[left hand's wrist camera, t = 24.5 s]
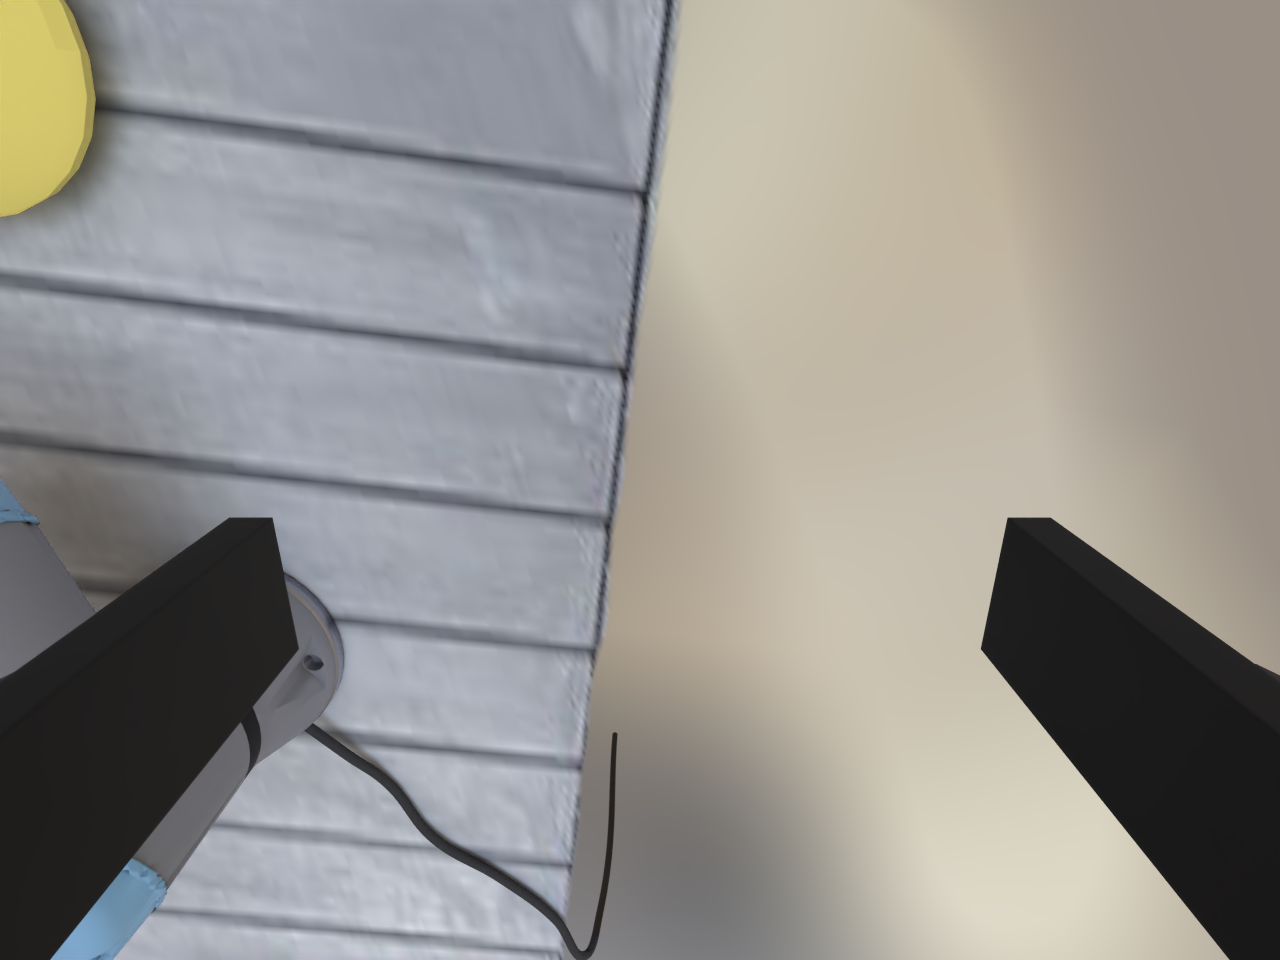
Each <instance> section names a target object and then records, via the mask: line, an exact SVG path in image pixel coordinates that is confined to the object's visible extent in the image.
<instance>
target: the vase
mask: <svg viewBox="0 0 1280 960" xmlns="http://www.w3.org/2000/svg"><path fill="white" fill-rule="evenodd" d="M95 101H96V98H95V91H94V84H93V78H92V71H91V64H90V58H89V55H88V52H87V50H86V47H85V44H84V42H83V39H82V36H81V34H80V31H79V29H78V26H77V23H76V21H75V18H74V15H73V13H72V12H71V10H70V9H69V7H68V5H67V4H66V2H65V1H64V0H0V217H3V216H9V215H14V214H19V213H21V212H23V211H25V210H27V209H29V208H31V207H33V206H35V205H36V204H38V203H40V202H42V201H44V200H45V199H47V198H49V197H51V196H53V195H55V194H56V193H58V192H59V191H60V190H61V189H62V188H63V186H64V185H65V184H66V183H67V182H68V181H69V180H70V178H71V177H72V176H73V175H74V174H75V173H76V172H77V170H78V169H79V168H80V165H81V163H82V160H83V158H84V155H85V153H86V151H87V148H88V146H89V143H90V141H91V138H92V132H93V122H94V112H95Z"/></svg>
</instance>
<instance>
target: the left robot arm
mask: <svg viewBox="0 0 1280 960" xmlns="http://www.w3.org/2000/svg"><path fill="white" fill-rule="evenodd" d="M39 523H40V522H39V521H38V519H37V518H36V517H35V516H34V515H32V514H31V513H27V512H25V510H24V509H23V508H22V506H21V505H20V504H19V502H18V501H17V500H16V499H15V497H14V496H13V495H12V493H11V492H10V491H9V489H8V488H7V487H6V486H5V484H4V483H3V482H2V480H1V479H0V960H113V959H114V957H115V956H116V955H117V954H118V953H119V952H120V950H121V949H122V948H123V947H124V945H125V944H126V943H127V942H128V941H129V939H130V938H131V937H132V936H133V934H134V933H135V932H136V931H137V930H138V928H139V927H140V926H141V925H142V923H143V922H144V921H145V920H146V919H147V917H148V916H149V915H150V914H151V913H153V912H154V911H155V910H156V909H157V908H158V907H159V906H160V905H161V903H162V902H163V900H164V897H165V895H166V894H167V892H166V891H167V889H168V888H169V886H170V885H171V884H172V882H173V881H174V879H175V878H176V876H177V875H178V874H179V872H180V871H181V869H182V868H183V866H184V865H185V864H186V862H187V861H188V859H189V858H190V856H191V855H192V854H193V852H194V851H195V849H196V848H197V847H198V845H199V844H200V842H201V841H202V839H203V838H204V837H205V835H206V834H207V832H208V831H209V829H210V828H211V827H212V825H213V824H214V822H215V821H216V819H217V818H218V817H219V815H220V814H221V812H222V811H223V810H224V808H225V807H226V805H227V804H228V802H229V801H230V800H231V798H232V797H233V795H234V794H235V792H236V791H237V790H238V788H239V787H240V785H241V784H242V782H243V781H244V779H245V778H246V777H247V775H248V774H249V772H250V771H251V770H252V768H253V767H254V766H255V765H256V764H258V763H259V762H260V761H262V760H263V759H265V758H266V757H267V756H269V755H270V754H272V753H273V752H275V751H276V750H277V749H279V748H280V747H282V746H283V745H285V744H286V743H287V742H289V741H290V740H292V739H293V738H294V737H296V736H297V735H299V734H300V733H301V732H303V731H306V732H307V733H308V734H310V735H311V736H313V737H314V738H315V739H317V740H318V741H320V742H321V743H322V744H324V745H325V746H326V747H328V748H329V749H331V750H332V751H333V752H335V753H336V754H338V755H339V756H340V757H342V758H343V759H345V760H346V761H348V762H349V763H351V764H352V765H354V766H355V767H357V768H359V769H360V770H362V771H363V772H365V773H367V774H368V775H370V776H371V777H373V778H374V779H375V780H377V781H378V782H379V783H380V784H382V785H383V786H384V787H385V788H386V789H387V790H388V791H389V792H390V793H391V794H392V795H393V796H394V798H395V799H396V800H397V801H398V803H399V804H400V805H401V807H402V808H403V809H404V811H405V812H406V814H407V815H408V817H409V818H410V820H411V821H412V822H413V824H414V825H415V826H416V828H417V829H418V830H419V831H420V832H421V833H422V834H423V835H424V836H425V837H426V838H427V839H428V840H429V841H430V842H431V843H432V844H434V845H435V846H436V847H437V848H439V849H440V850H442V851H443V852H445V853H446V854H448V855H449V856H451V857H453V858H455V859H456V860H458V861H460V862H462V863H464V864H466V865H468V866H470V867H472V868H474V869H476V870H478V871H480V872H482V873H484V874H486V875H487V876H489V877H491V878H492V879H494V880H496V881H497V882H499V883H500V884H502V885H503V886H505V887H506V888H508V889H509V890H511V891H512V892H514V893H515V894H517V895H518V896H520V897H521V898H523V899H524V900H526V901H527V902H528V903H530V904H531V905H532V906H534V907H535V908H536V909H538V910H539V911H540V912H541V913H542V914H543V915H545V916H546V917H547V918H548V919H549V920H550V921H551V922H552V923H553V924H554V925H555V926H556V927H557V929H558V930H559V932H560V934H561V935H562V937H563V939H564V941H565V943H566V945H567V947H568V949H569V951H570V953H571V954H572V955H573V957H574V958H575V959H576V960H587V959H589V958H590V957H591V956H592V954H593V953H594V951H595V949H596V946H597V943H598V938H599V934H600V928H601V923H602V918H603V912H604V907H605V902H606V897H607V891H608V884H609V878H610V870H611V862H612V851H613V839H614V820H615V783H616V752H617V736H618V734H617V733H616V732H614V733H613V734H612V745H611V763H610V791H609V818H608V834H607V847H606V857H605V866H604V873H603V880H602V886H601V892H600V897H599V902H598V906H597V911H596V916H595V921H594V927H593V931H592V936H591V939H590V943H589V945H588V947H587V949H586V950H585V951H580V950H579V949H578V948H577V946H576V944H575V942H574V940H573V938H572V936H571V934H570V932H569V930H568V928H567V927H566V925H565V924H564V922H563V921H562V919H561V918H560V917H559V916H558V915H557V914H556V913H555V912H554V911H553V910H552V909H551V908H550V907H549V906H547V905H546V904H545V903H544V902H543V901H541V900H540V899H539V898H538V897H536V896H535V895H534V894H532V893H531V892H530V891H528V890H527V889H525V888H524V887H522V886H521V885H519V884H518V883H516V882H515V881H513V880H512V879H510V878H509V877H507V876H506V875H504V874H503V873H501V872H500V871H498V870H497V869H495V868H493V867H492V866H490V865H488V864H486V863H484V862H482V861H480V860H478V859H476V858H474V857H472V856H470V855H469V854H467V853H465V852H463V851H461V850H459V849H457V848H456V847H454V846H452V845H451V844H449V843H448V842H446V841H445V840H443V839H442V838H441V837H440V836H438V835H437V834H436V833H435V832H434V831H433V830H432V829H431V828H430V827H429V826H428V825H427V824H426V823H425V822H424V821H423V819H422V818H421V817H420V815H419V814H418V813H417V811H416V810H415V808H414V807H413V805H412V804H411V802H410V801H409V800H408V798H407V797H406V795H405V794H404V793H403V792H402V790H401V789H400V788H399V787H398V786H397V785H396V784H395V783H394V782H393V781H392V780H391V779H390V778H389V777H388V776H387V775H386V774H385V773H383V772H382V771H381V770H379V769H378V768H377V767H375V766H374V765H372V764H371V763H369V762H367V761H366V760H364V759H363V758H361V757H359V756H358V755H356V754H355V753H353V752H352V751H351V750H349V749H348V748H346V747H345V746H344V745H342V744H341V743H339V742H338V741H337V740H335V739H334V738H332V737H331V736H330V735H328V734H327V733H326V732H324V731H323V730H322V729H320V728H319V727H317V726H316V725H315V724H313V722H314V721H315V720H316V719H317V718H318V717H319V716H320V715H321V714H322V712H323V711H324V710H325V708H326V707H327V705H328V704H329V702H330V701H331V699H332V698H333V696H334V694H335V693H336V691H337V689H338V687H339V684H340V681H341V678H342V674H343V667H344V656H343V648H342V643H341V639H340V636H339V633H338V631H337V629H336V626H335V624H334V622H333V621H332V619H331V617H330V616H329V614H328V613H327V611H326V610H325V608H324V607H323V606H322V605H321V603H320V602H319V601H318V600H317V599H316V598H315V597H314V596H313V595H312V594H311V593H310V592H309V591H308V590H307V589H305V588H304V587H303V586H302V585H300V584H299V583H298V582H296V581H295V580H293V579H292V578H290V577H288V576H287V575H285V574H284V572H283V568H282V563H281V558H280V553H279V548H278V543H277V538H276V533H275V528H274V523H273V519H272V518H228V519H227V520H225V521H224V522H223V523H221V524H220V525H218V526H217V527H216V528H214V529H213V530H212V531H210V532H209V533H207V534H206V535H205V536H203V537H202V538H200V539H199V540H198V541H196V542H195V543H193V544H192V545H191V546H189V547H188V548H186V549H185V550H184V551H182V552H181V553H179V554H178V555H177V556H175V557H174V558H172V559H171V560H170V561H168V562H167V563H165V564H164V565H163V566H161V567H160V568H159V569H157V570H156V571H154V572H153V573H152V574H150V575H149V576H147V577H146V578H145V579H143V580H142V581H140V582H139V583H138V584H136V585H135V586H133V587H132V588H131V589H129V590H128V591H126V592H125V593H124V594H122V595H121V596H119V597H118V598H117V599H115V600H114V601H112V602H111V603H110V604H108V605H107V606H106V607H104V608H103V609H101V610H100V611H99V612H97V613H96V612H95V611H94V609H93V608H92V606H91V605H90V603H89V602H88V600H87V599H86V597H85V596H84V594H83V593H82V591H81V590H80V589H79V587H78V586H77V584H76V583H75V581H74V580H73V578H72V577H71V575H70V574H69V572H68V571H67V569H66V568H65V566H64V565H63V563H62V562H61V560H60V559H59V557H58V556H57V554H56V553H55V551H54V550H53V548H52V547H51V545H50V544H49V543H48V541H47V540H46V538H45V537H44V535H43V534H42V532H41V531H40V529H39V528H38V526H37V525H38V524H39ZM981 650H982V651H983V652H984V654H985V655H986V656H987V657H988V659H989V660H990V661H991V662H992V664H993V665H994V666H995V667H996V669H997V670H998V671H999V672H1000V674H1001V675H1002V676H1003V677H1004V679H1005V680H1006V681H1007V682H1008V684H1009V685H1010V686H1011V687H1012V689H1013V690H1014V691H1015V692H1016V694H1017V695H1018V696H1019V697H1020V699H1021V700H1022V701H1023V702H1024V704H1025V705H1026V706H1027V707H1028V709H1029V710H1030V711H1031V712H1032V714H1033V715H1034V716H1035V717H1036V719H1037V720H1038V721H1039V722H1040V724H1041V725H1042V726H1043V727H1044V729H1045V730H1046V731H1047V732H1048V734H1049V735H1050V736H1051V737H1052V739H1053V740H1054V741H1055V742H1056V743H1057V745H1058V746H1059V747H1060V749H1061V750H1062V751H1063V752H1064V754H1065V755H1066V756H1067V757H1068V759H1069V760H1070V761H1071V762H1072V764H1073V765H1074V766H1075V767H1076V769H1077V770H1078V771H1079V772H1080V774H1081V775H1082V776H1083V777H1084V778H1085V780H1086V781H1087V782H1088V783H1089V785H1090V786H1091V787H1092V788H1093V790H1094V791H1095V792H1096V794H1097V795H1098V796H1099V797H1100V799H1101V800H1102V801H1103V802H1104V804H1105V805H1106V806H1107V807H1108V809H1109V810H1110V811H1111V812H1112V813H1113V815H1114V816H1115V817H1116V818H1117V820H1118V821H1119V822H1120V824H1121V825H1122V826H1123V827H1124V829H1125V830H1126V831H1127V832H1128V833H1129V835H1130V836H1131V837H1132V838H1133V840H1134V841H1135V842H1136V843H1137V845H1138V846H1139V847H1140V848H1141V850H1142V851H1143V852H1144V853H1145V855H1146V856H1147V857H1148V858H1149V860H1150V861H1151V862H1152V863H1153V865H1154V866H1155V867H1156V868H1157V870H1158V871H1159V872H1160V873H1161V875H1162V876H1163V877H1164V878H1165V880H1166V881H1167V882H1168V883H1169V885H1170V886H1171V887H1172V888H1173V890H1174V891H1175V892H1176V893H1177V895H1178V896H1179V897H1180V898H1181V900H1182V901H1183V902H1184V903H1185V905H1186V906H1187V907H1188V908H1189V910H1190V911H1191V912H1192V913H1193V915H1194V916H1195V917H1196V918H1197V920H1198V921H1199V922H1200V923H1201V925H1202V926H1203V927H1204V928H1205V930H1206V931H1207V932H1208V933H1209V935H1210V936H1211V937H1212V938H1213V940H1214V941H1215V942H1216V943H1217V945H1218V946H1219V947H1220V948H1221V950H1222V951H1223V952H1224V953H1225V955H1226V956H1227V957H1228V958H1229V960H1280V675H1278V674H1276V673H1274V672H1271V671H1269V670H1267V669H1265V668H1263V667H1261V666H1259V665H1257V664H1254V663H1253V662H1251V661H1250V660H1248V659H1247V658H1246V657H1244V656H1243V655H1241V654H1240V653H1239V652H1237V651H1236V650H1234V649H1233V648H1232V647H1230V646H1229V645H1227V644H1226V643H1225V642H1223V641H1222V640H1220V639H1219V638H1218V637H1216V636H1215V635H1214V634H1212V633H1211V632H1209V631H1208V630H1206V629H1205V628H1204V627H1202V626H1201V625H1200V624H1198V623H1197V622H1195V621H1194V620H1193V619H1191V618H1190V617H1188V616H1187V615H1186V614H1184V613H1183V612H1181V611H1180V610H1179V609H1177V608H1176V607H1174V606H1173V605H1172V604H1170V603H1169V602H1168V601H1166V600H1165V599H1163V598H1162V597H1161V596H1159V595H1158V594H1156V593H1155V592H1154V591H1152V590H1151V589H1149V588H1148V587H1147V586H1145V585H1144V584H1142V583H1141V582H1140V581H1138V580H1137V579H1135V578H1134V577H1133V576H1131V575H1130V574H1128V573H1127V572H1126V571H1124V570H1123V569H1121V568H1120V567H1119V566H1117V565H1116V564H1115V563H1113V562H1112V561H1110V560H1109V559H1108V558H1106V557H1105V556H1103V555H1102V554H1101V553H1099V552H1098V551H1096V550H1095V549H1094V548H1092V547H1091V546H1089V545H1088V544H1087V543H1085V542H1084V541H1082V540H1081V539H1080V538H1078V537H1077V536H1075V535H1074V534H1073V533H1071V532H1070V531H1068V530H1067V529H1066V528H1064V527H1063V526H1062V525H1060V524H1059V523H1057V522H1056V521H1055V520H1053V519H1052V518H1008V519H1007V524H1006V528H1005V533H1004V538H1003V543H1002V548H1001V553H1000V558H999V563H998V568H997V572H996V578H995V582H994V587H993V592H992V597H991V602H990V607H989V612H988V617H987V621H986V627H985V631H984V636H983V641H982V646H981Z"/></svg>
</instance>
